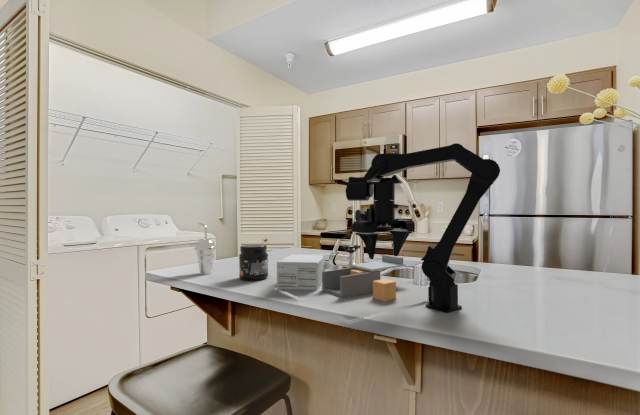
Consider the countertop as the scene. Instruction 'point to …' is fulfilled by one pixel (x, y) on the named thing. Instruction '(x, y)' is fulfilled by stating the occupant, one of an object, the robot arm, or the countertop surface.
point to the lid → (381, 263)
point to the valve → (350, 252)
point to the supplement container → (253, 262)
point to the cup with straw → (205, 253)
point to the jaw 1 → (358, 271)
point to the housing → (348, 282)
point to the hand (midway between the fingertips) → (384, 257)
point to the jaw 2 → (384, 289)
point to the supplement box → (300, 272)
